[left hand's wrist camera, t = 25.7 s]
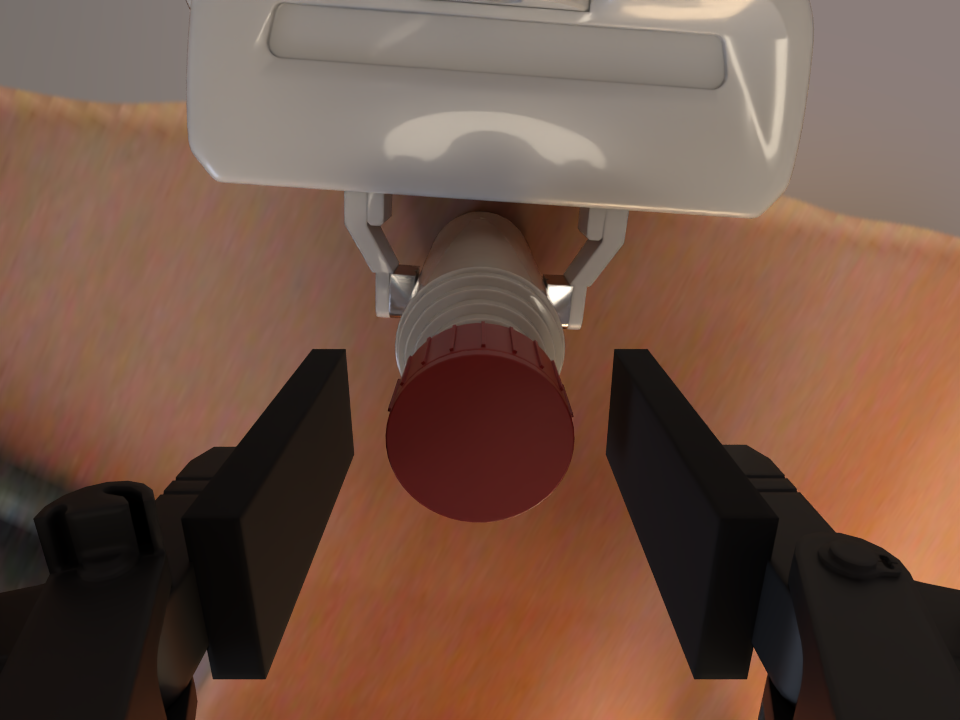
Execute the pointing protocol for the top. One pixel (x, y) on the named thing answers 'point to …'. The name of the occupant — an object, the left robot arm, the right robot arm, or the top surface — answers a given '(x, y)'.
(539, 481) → the cap
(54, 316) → the top surface
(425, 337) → the bottle
